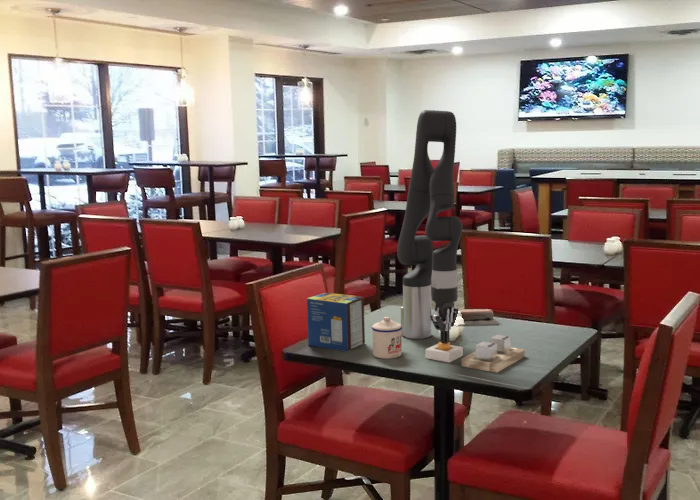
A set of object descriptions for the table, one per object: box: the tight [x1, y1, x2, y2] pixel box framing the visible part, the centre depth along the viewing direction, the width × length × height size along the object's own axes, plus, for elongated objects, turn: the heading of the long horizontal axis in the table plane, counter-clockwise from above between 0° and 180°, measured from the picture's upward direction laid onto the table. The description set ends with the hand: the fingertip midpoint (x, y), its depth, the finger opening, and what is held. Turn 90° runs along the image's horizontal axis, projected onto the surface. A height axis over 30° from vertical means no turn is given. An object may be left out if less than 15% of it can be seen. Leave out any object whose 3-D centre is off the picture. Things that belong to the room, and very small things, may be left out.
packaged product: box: [458, 308, 499, 326], centre depth 255 cm, size 18×5×10 cm
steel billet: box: [475, 341, 497, 363], centre depth 203 cm, size 4×4×6 cm
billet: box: [489, 334, 512, 355], centre depth 210 cm, size 4×4×6 cm
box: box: [424, 343, 464, 363], centre depth 212 cm, size 8×8×3 cm
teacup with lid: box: [371, 316, 403, 360], centre depth 218 cm, size 12×9×12 cm
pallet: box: [460, 346, 526, 373], centre depth 207 cm, size 11×18×2 cm, turn 143°
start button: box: [437, 341, 451, 351], centre depth 212 cm, size 4×4×2 cm
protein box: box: [306, 292, 366, 353], centre depth 229 cm, size 10×15×16 cm
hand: (444, 342), depth 212 cm, fingers closed
